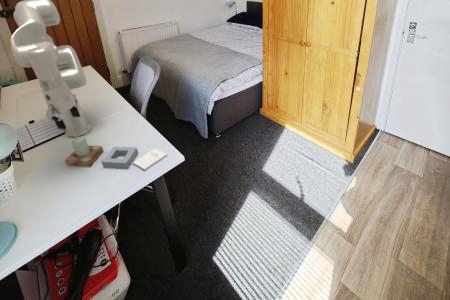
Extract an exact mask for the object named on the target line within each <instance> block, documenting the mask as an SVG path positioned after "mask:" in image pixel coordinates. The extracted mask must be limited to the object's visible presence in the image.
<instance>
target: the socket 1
mask: <svg viewBox="0 0 450 300" xmlns="http://www.w3.org/2000/svg"><path fill="white" fill-rule="evenodd" d="M88 146H89V149H90V151H91V153H90V154H89V155H88V156H87V157H77V154H76V152H75V150H74V149H73V151H72V152H71V153H70V154H69V155H68V156H67V157H66V158H65V163H66V165H67V167H68V166H69V167H70V166H71V167H88V168H89V167H92V166H93V165H94V163H95V162H96V161H97V160H98V159H99V157H100V156H101V155H102V154H103V153H104V149H103V147H102V145H88Z"/></svg>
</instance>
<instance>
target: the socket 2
mask: <svg viewBox="0 0 450 300" xmlns="http://www.w3.org/2000/svg"><path fill="white" fill-rule="evenodd" d="M138 154H139V150H138V148H137V147H134V146H132V147H131V146H113V147H112V148H111V149H110V150H109V151H108V153H107V154H106V156H105V157H104V158H103V159H102V161H101V164H102V167H103V168H109V169H127V170H128V169H129V168H130V166H131V165H132V164H133V162H134V161H135V159H136V157H137V156H138ZM118 156H121V157H123V156H124V157H123V158H118Z"/></svg>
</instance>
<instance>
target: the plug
mask: <svg viewBox="0 0 450 300" xmlns="http://www.w3.org/2000/svg"><path fill="white" fill-rule="evenodd" d="M70 143H71V145H72V148H73V151H74V150H75V152H76V154H77V157H87V156H88V155H89V154H90V153H91V151H90V149H89V146H90V145H88V142H87V140H86V138H85V137H84V136H78V137H74V139H73V140H72V141H70Z"/></svg>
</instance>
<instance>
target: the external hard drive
mask: <svg viewBox="0 0 450 300" xmlns="http://www.w3.org/2000/svg"><path fill="white" fill-rule="evenodd" d="M164 157H165V158H166V157H168V154H167V153H165V152H163V151H161V150H159V149H157V148H153V149H152V150H150V151H149V152H147V153H145V154H144V155H142V156H141V157H139V158H137V159H136V160H133V162H132V165H134V166H136V168H139V169H140V170H142V171H144V172H147V170H149V169H150V168H152V167H153V166H155V165H156V164H158V163H159V162H160V161H161V160H163V159H165V158H164ZM154 164H155V165H154Z"/></svg>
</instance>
